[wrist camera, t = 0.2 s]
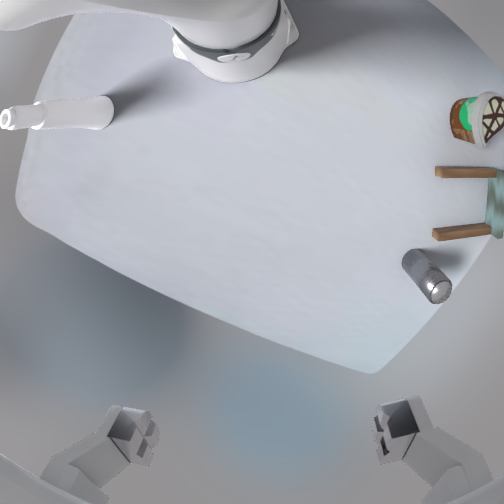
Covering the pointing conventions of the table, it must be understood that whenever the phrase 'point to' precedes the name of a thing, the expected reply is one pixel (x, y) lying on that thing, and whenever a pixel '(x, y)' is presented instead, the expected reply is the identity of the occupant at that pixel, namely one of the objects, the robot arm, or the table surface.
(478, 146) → the food container
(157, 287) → the table surface
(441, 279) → the drinking glass
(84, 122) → the cosmetic bottle
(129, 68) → the table surface
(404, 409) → the robot arm
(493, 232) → the keeper cradle
